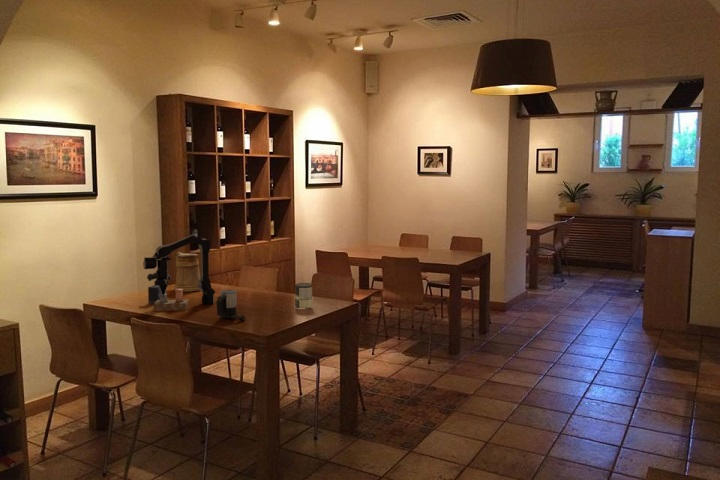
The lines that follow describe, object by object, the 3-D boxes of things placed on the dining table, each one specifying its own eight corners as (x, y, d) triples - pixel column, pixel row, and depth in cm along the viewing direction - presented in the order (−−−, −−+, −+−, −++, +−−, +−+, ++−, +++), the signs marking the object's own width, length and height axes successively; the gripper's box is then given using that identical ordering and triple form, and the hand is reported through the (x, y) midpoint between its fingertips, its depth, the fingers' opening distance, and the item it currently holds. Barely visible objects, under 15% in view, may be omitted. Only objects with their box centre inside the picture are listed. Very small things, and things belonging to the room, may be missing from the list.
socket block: (188, 306, 350) (188, 299, 349) (186, 310, 340) (186, 303, 339) (157, 306, 347) (156, 300, 346) (153, 310, 337) (153, 303, 337)
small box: (157, 304, 353) (157, 287, 351) (147, 304, 354) (147, 287, 353) (166, 301, 363) (166, 284, 362) (157, 300, 364) (156, 283, 363)
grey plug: (168, 306, 345) (167, 293, 344) (166, 308, 341) (166, 295, 340) (160, 307, 345) (159, 293, 344) (158, 308, 340) (158, 295, 339)
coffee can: (291, 308, 348) (291, 285, 346) (300, 305, 357) (300, 282, 355) (306, 310, 343) (306, 286, 342) (315, 306, 352) (315, 283, 351)
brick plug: (183, 302, 346) (183, 288, 345) (182, 303, 342) (182, 290, 341) (175, 302, 346) (175, 288, 345) (174, 303, 341) (174, 290, 340)
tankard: (186, 293, 385) (186, 256, 383) (164, 289, 399) (164, 252, 396) (208, 289, 400) (208, 253, 397) (186, 285, 414) (186, 250, 411)
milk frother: (223, 315, 329) (223, 289, 328) (250, 316, 328) (250, 290, 326) (214, 321, 315) (214, 294, 314) (243, 322, 314) (242, 295, 312)
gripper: (151, 265, 348) (152, 291, 350) (144, 270, 330) (145, 298, 331) (170, 265, 350) (171, 291, 351) (165, 270, 331) (165, 297, 333)
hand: (163, 294), depth 342 cm, fingers closed, pressing on grey plug
